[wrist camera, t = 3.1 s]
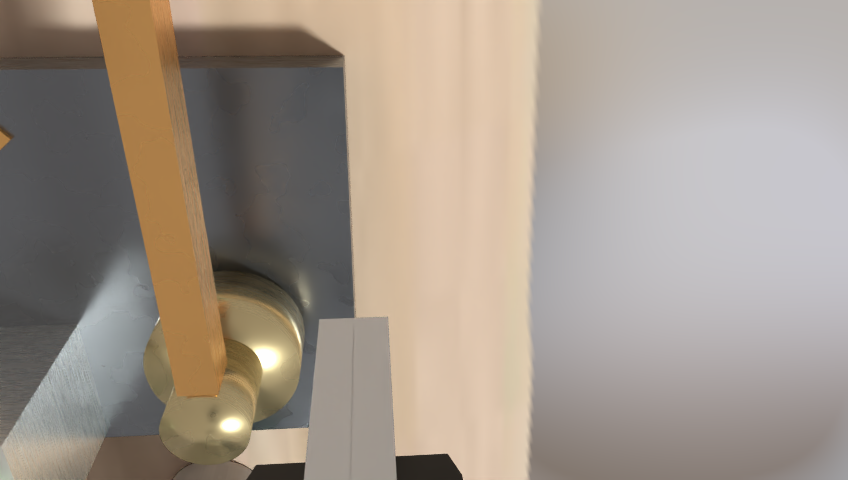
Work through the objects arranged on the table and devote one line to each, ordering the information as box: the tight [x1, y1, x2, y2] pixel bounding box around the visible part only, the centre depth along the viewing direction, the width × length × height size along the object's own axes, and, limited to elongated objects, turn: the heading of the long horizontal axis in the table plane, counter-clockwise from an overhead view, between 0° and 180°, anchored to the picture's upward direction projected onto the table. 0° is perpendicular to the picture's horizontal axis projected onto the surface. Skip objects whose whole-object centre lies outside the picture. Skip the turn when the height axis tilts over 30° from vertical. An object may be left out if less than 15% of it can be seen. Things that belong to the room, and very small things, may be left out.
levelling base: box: [0, 56, 356, 480], centre depth 29 cm, size 20×20×11 cm
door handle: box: [92, 0, 305, 465], centre depth 27 cm, size 20×7×7 cm, turn 179°
